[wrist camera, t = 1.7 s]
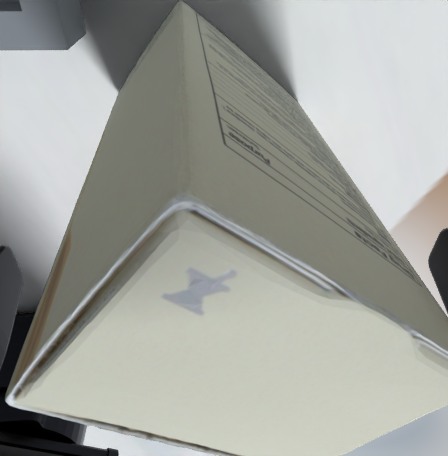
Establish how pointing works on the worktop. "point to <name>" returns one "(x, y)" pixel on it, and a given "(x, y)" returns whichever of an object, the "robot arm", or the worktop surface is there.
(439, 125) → the worktop surface
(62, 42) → the tray
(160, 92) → the skincare box
